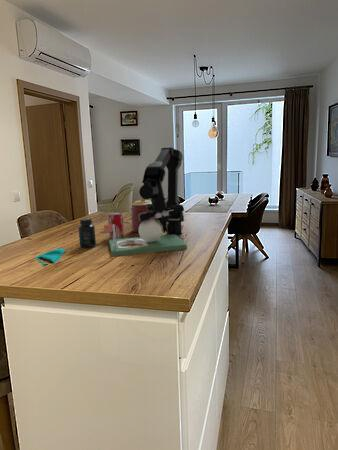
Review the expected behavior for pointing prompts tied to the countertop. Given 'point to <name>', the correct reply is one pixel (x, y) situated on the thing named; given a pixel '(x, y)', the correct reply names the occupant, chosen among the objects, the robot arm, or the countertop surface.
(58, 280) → the countertop surface
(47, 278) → the countertop surface
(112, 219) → the soda can
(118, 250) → the putting deck
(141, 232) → the ball
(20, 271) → the countertop surface
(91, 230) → the supplement bottle
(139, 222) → the canister
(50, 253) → the cloth
